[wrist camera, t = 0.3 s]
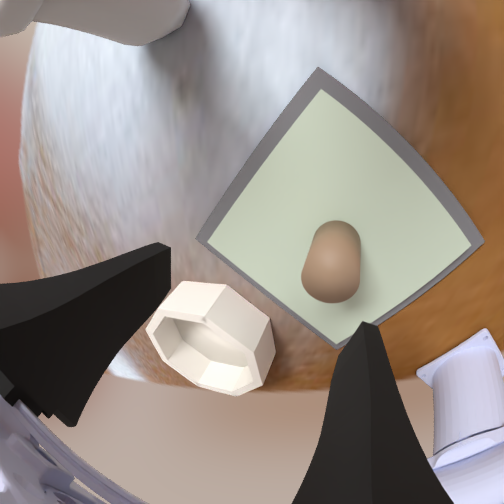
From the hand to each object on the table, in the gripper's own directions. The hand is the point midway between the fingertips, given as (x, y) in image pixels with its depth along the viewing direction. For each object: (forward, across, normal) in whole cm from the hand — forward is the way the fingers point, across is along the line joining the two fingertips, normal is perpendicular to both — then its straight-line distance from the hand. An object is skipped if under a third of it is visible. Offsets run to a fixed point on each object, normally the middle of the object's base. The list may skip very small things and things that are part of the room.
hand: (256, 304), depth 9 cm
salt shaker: (+10, +13, -12) cm, 20 cm away
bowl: (+9, +4, +14) cm, 18 cm away
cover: (+9, -2, +1) cm, 10 cm away
